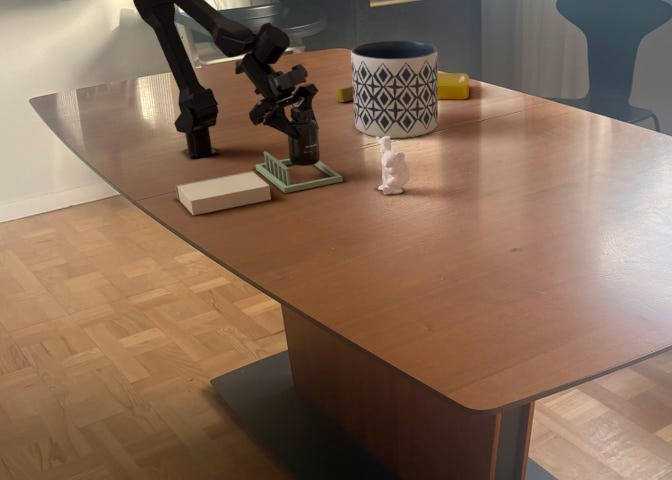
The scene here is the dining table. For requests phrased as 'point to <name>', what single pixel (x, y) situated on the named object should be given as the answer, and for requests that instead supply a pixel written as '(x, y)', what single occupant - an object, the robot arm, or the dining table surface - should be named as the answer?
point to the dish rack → (277, 164)
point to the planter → (395, 88)
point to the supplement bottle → (304, 138)
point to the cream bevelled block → (223, 192)
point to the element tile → (453, 86)
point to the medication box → (345, 93)
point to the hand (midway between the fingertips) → (307, 134)
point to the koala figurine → (392, 168)
